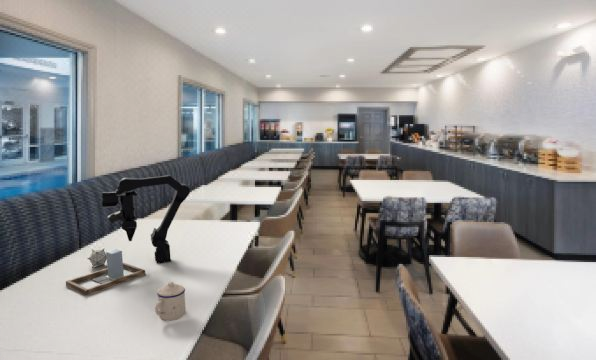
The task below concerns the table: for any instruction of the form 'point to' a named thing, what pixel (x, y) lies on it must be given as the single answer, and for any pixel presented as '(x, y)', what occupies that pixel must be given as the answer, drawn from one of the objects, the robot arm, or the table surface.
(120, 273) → the slate-blue block
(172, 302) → the teacup with lid
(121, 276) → the pad
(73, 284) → the frame
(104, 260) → the game die
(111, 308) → the table surface
